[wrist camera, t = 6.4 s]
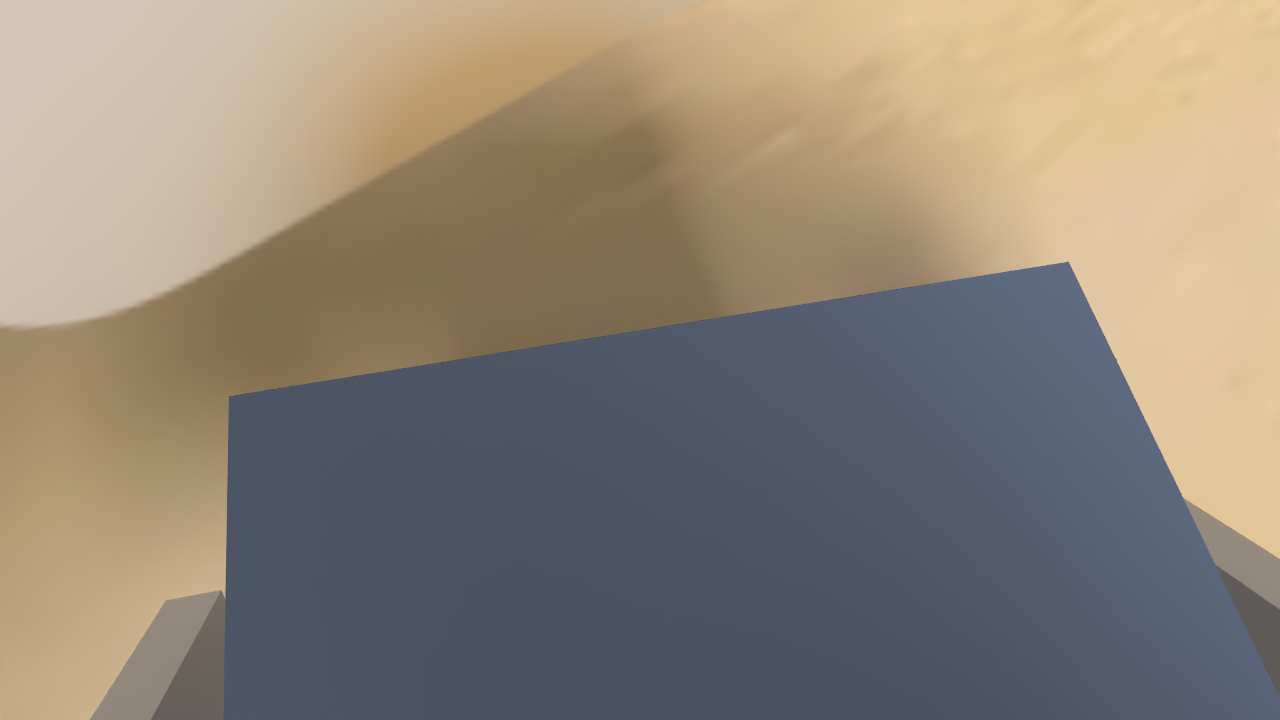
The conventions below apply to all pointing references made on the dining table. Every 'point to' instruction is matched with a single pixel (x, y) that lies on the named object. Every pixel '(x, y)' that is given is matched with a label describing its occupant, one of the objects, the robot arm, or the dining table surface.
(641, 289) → the dining table surface
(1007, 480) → the blue rectangular block
